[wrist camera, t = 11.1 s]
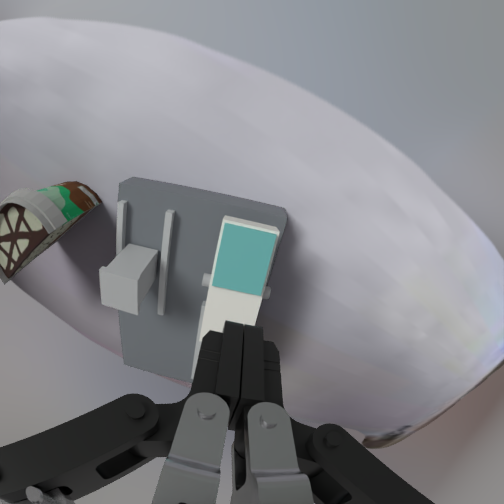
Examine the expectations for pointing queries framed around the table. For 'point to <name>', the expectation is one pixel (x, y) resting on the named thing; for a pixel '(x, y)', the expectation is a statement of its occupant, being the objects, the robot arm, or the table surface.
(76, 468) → the robot arm
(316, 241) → the table surface
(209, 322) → the rocker
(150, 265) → the grey slider
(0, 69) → the table surface
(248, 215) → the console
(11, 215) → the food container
